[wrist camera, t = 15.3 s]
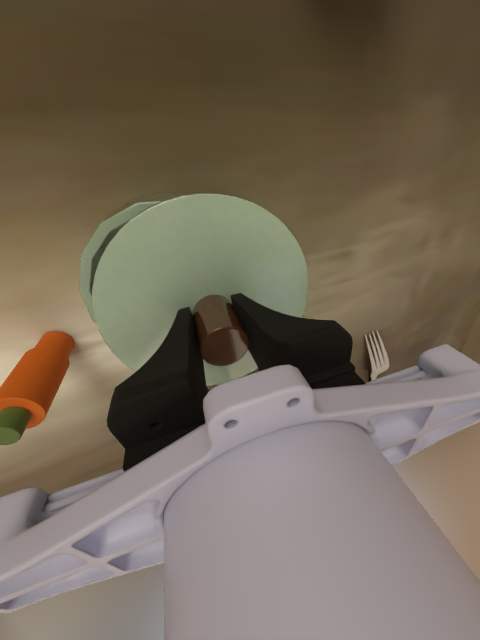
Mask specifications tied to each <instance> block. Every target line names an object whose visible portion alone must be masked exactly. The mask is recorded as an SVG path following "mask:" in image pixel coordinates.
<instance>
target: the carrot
mask: <svg viewBox="0 0 480 640" xmlns="http://www.w3.org/2000/svg"><path fill="white" fill-rule="evenodd" d="M73 347H74V341H73V339H72V338H71V337H70V336H69V335H67V334H65V333H63V332H57V331H53V332H49V333H46V334H45V335H43V337H42V338H41V339H40V341H39V342H38V344H37V345H36V347H35V348H33V349H30V350H29V351H27V352H26V353H25V354H24V356H23V357H22V358H21V360H20V361H19V362H18V364H17V365H16V367H15V368H14V369H13V371H12V372H11V373H10V375H9V376H8V378H7V379H6V380H5V382H4V383H3V384H2V386H1V387H0V445H9V444H13V443H15V442H17V441H18V440H19V439H20V438H21V436H22V434H23V432H24V431H25V429H28V428H32V427H34V426H36V425H38V424H40V423H41V422H42V421H43V420H44V419H45V417H46V415H47V412H48V410H49V408H50V406H51V404H52V402H53V399H54V397H55V395H56V393H57V391H58V389H59V386H60V384H61V382H62V380H63V378H64V376H65V373H66V371H67V369H68V367H69V359H68V357H69V355H70V353H71V351H72V349H73Z"/></svg>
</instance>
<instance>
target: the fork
mask: <svg viewBox="0 0 480 640" xmlns="http://www.w3.org/2000/svg"><path fill="white" fill-rule="evenodd" d="M376 332H377V335H378V338H379V341H380V345H381V349H382V352H383V356H384V361H383V357H382V354H381V351H380V348H379V345H378V342H377V340H376V337H375V335H374V332H372V333H373V337H374V340H375V344H376V347H377V351H378V354H379V358H380V363H379V359H378V355H377V352H376V349H375V346H374V343H373V341H372V338H371V335H370V333H369V336H370V340H371V344H372V348H373V352H374V356H375V360H376V365H375V360H374V357H373V354H372V351H371V348H370V345H369V342H368V340H367V337H366V335H365V338H366V342H367V347H368V351H369V356H370V360H371V366H372V373H371V376H370V377H372V378H371V381H373V380H376V377H377V375H378V374H380V373H382V372H384V371H386V370H387V369H388V367H389V360H388V356H387V353H386V350H385V348H384V345H383V342H382V340H381V338H380V335H379V333H378V331H377V330H376ZM384 362H385V365H384ZM380 364H381V367H380ZM376 366H377V369H376Z"/></svg>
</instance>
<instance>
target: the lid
mask: <svg viewBox="0 0 480 640" xmlns="http://www.w3.org/2000/svg"><path fill="white" fill-rule="evenodd" d="M308 287H309V283H308V271H307V266H306V261H305V258H304V255H303V253H302V250H301V248H300V246H299V244H298V242H297V240H296V239H295V237H294V236H293V234H292V233H291V232H290V230H289V229H288V228H287V227H286V226H285V225H284V224H283V223H282V222H281V221H280V220H279V219H278V218H277V217H276V216H274V215H273V214H271V213H270V212H269V211H267V210H266V209H264V208H262V207H260V206H258V205H256V204H254V203H252V202H250V201H247V200H244V199H241V198H238V197H235V196H231V195H225V194H219V193H194V194H186V195H180V196H177V197H173V198H170V199H166V200H164V201H161V202H159V203H157V204H155V205H153V206H150V207H148V208H147V209H145V210H144V211H142V212H141V213H139V214H137V215H136V216H134V217H133V218H132V219H131V220H130V221H129V222H127V223H126V224H125V225H124V226H123V227H122V228H121V229H120V230H119V231H118V233H117V234H116V235H115V236H114V238H113V239H112V240H111V241H110V243H109V244H108V246H107V248H106V249H105V251H104V253H103V255H102V256H101V258H100V261H99V264H98V266H97V269H96V272H95V276H94V281H93V287H92V306H93V312H94V317H95V320H96V323H97V326H98V329H99V331H100V333H101V335H102V337H103V339H104V341H105V343H106V344H107V345H108V347H109V348H110V349H111V351H112V352H113V353H114V354H115V355H116V356H117V357H118V358H119V359H120V360H121V361H122V362H123V363H125V364H126V365H127V366H128V367H130V368H131V369H133V370H134V371H137V370H139V369H140V368H141V367H142V366H143V365H144V364H145V363H146V362H147V361H148V360H149V359H150V358H151V357H152V355H153V354H154V353H155V352H156V351H157V350H158V348H159V347H160V346H161V344H162V343H163V341H164V339H165V338H166V336H167V334H168V332H169V330H170V328H171V326H172V324H173V322H174V319H175V317H176V314H177V311H178V310H179V309H182V308H186V307H190V310H191V313H192V316H193V320H194V325H195V330H196V335H197V340H198V345H199V350H200V354H201V357H202V358H203V362H204V371H205V380H206V386H211V385H217V384H222V383H225V382H228V381H231V380H234V379H237V378H240V377H243V376H245V375H247V374H249V373H251V372H253V371H254V370H256V369H258V367H257V365H256V363H255V361H254V359H253V357H252V356H251V354H250V352H249V350H248V347H249V338H248V336H247V334H246V332H245V330H244V328H243V326H242V324H241V322H240V320H239V318H238V316H237V314H236V312H235V310H234V308H233V306H232V302H231V297H230V295H234V294H237V293H242V294H243V295H245V296H247V297H248V298H250V299H252V300H253V301H255V302H257V303H259V304H261V305H263V306H265V307H267V308H270V309H272V310H274V311H277V312H280V313H283V314H287V315H290V316H295V317H300V318H302V316H303V313H304V310H305V307H306V302H307V298H308Z"/></svg>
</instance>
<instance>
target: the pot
mask: <svg viewBox="0 0 480 640" xmlns="http://www.w3.org/2000/svg"><path fill="white" fill-rule="evenodd" d="M177 196H180V195H179V194H175V193H174V194H154V195H143V196H140V197H138V198H136V199H134V200H133V201H131V202H129V203H127V204H125V205H124V206H122V207H120V208H118V209H117V210H115V211H113V212H112V213H111V214H110V215H109V216H108V217H107V218H106V219H105V220H104V221H103V222H102V223H101V224H100V225H99V227H98V228H97V230H96V232H95V233H94V235H93V236H92V238H91V239H90V241H89V243H88V244H87V246H86V247H85V249H84V250H83V252H82V254H81V261H80V280H79V290H80V293H81V295H82V297H83V300H84V302H85V304H86V306H87V309H88V311H89V313H90V315H91V317H92V320H93V321H94V322H95V323H96V320H95V317H94V312H93V306H92V287H93V281H94V276H95V272H96V269H97V266H98V264H99V261H100V258H101V256H102V255H103V253H104V251H105V249H106V248H107V246H108V244H109V243H110V241H111V240H112V239H113V238H114V236H115V235H116V234H117V233H118V231H119V230H120V229H121V228H122V227H123V226H124V225H125V224H126V223H127V222H129V221H130V220H131V219H132V218H133V217H134V216H136V215H137V214H139V213H141V212H142V211H144V210H145V209H147V208H148V207H150V206H153V205H155V204H157V203H159V202H161V201H164V200H166V199H170V198H173V197H177ZM96 324H97V323H96Z"/></svg>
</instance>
